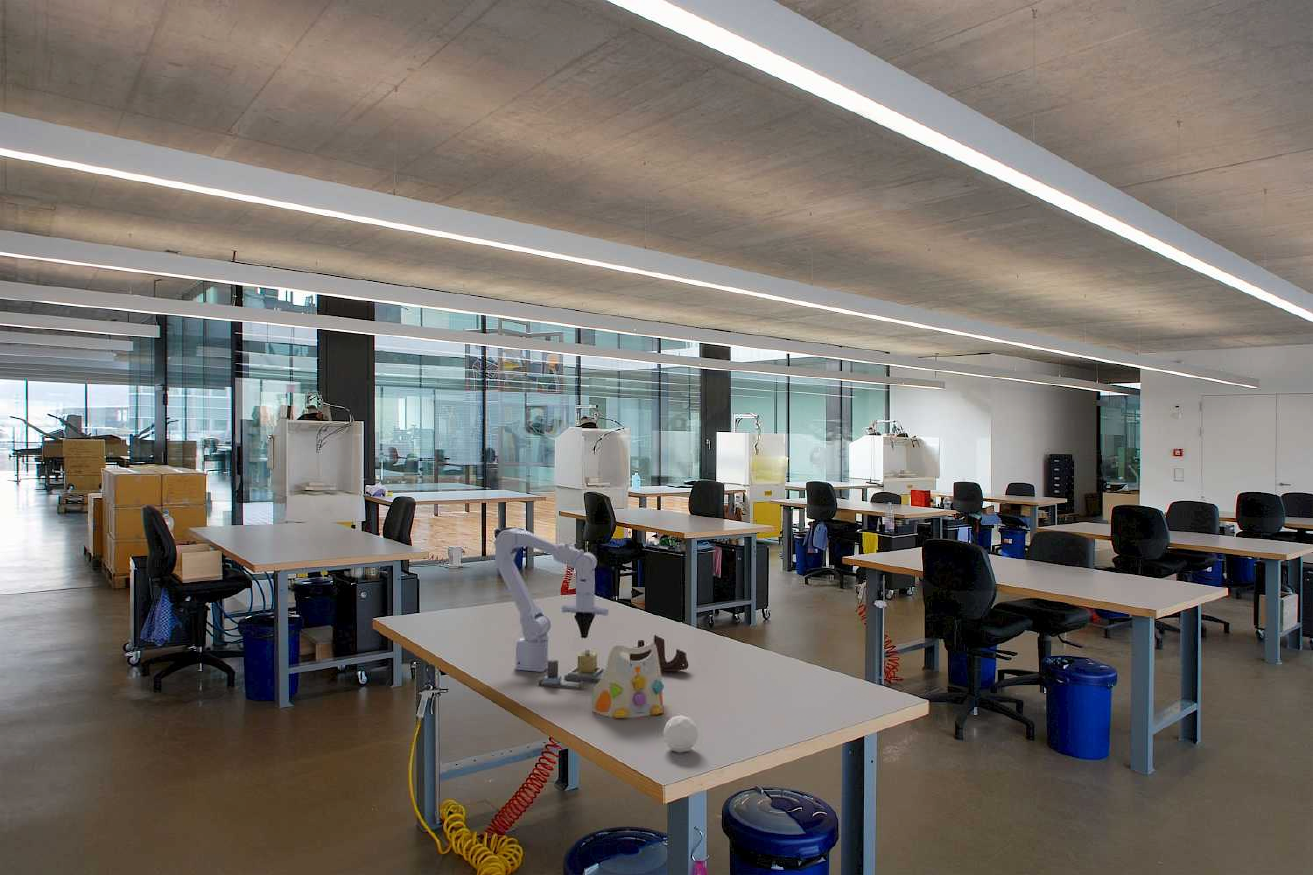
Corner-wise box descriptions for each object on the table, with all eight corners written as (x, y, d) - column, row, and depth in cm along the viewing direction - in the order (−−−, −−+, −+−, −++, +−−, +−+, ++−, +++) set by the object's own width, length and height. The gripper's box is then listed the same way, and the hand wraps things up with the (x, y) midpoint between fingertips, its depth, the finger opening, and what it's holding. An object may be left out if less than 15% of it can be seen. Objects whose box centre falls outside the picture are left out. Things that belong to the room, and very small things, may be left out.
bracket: (683, 667, 238) (682, 631, 242) (629, 672, 244) (628, 638, 248) (691, 670, 243) (689, 635, 248) (638, 675, 249) (637, 641, 254)
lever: (543, 682, 225) (544, 661, 226) (548, 679, 229) (548, 658, 229) (556, 684, 224) (557, 662, 225) (561, 681, 228) (561, 660, 228)
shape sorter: (604, 723, 196) (605, 651, 196) (590, 710, 206) (591, 641, 206) (676, 713, 204) (677, 644, 204) (659, 701, 214) (660, 636, 214)
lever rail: (538, 685, 226) (538, 679, 226) (541, 683, 229) (541, 677, 229) (581, 689, 223) (581, 683, 223) (584, 687, 225) (584, 681, 225)
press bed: (564, 679, 232) (564, 656, 233) (576, 670, 242) (576, 648, 242) (609, 683, 229) (610, 660, 229) (620, 674, 239) (620, 652, 239)
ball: (683, 766, 176) (679, 745, 172) (658, 744, 181) (654, 723, 177) (706, 743, 180) (703, 722, 176) (681, 722, 185) (678, 702, 181)
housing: (577, 674, 234) (577, 651, 234) (582, 670, 238) (582, 648, 238) (591, 675, 233) (592, 652, 233) (596, 671, 237) (597, 649, 237)
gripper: (558, 593, 240) (557, 638, 240) (603, 596, 236) (602, 642, 236) (566, 589, 247) (566, 633, 247) (610, 592, 243) (610, 636, 243)
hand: (584, 637), depth 242 cm, fingers closed
